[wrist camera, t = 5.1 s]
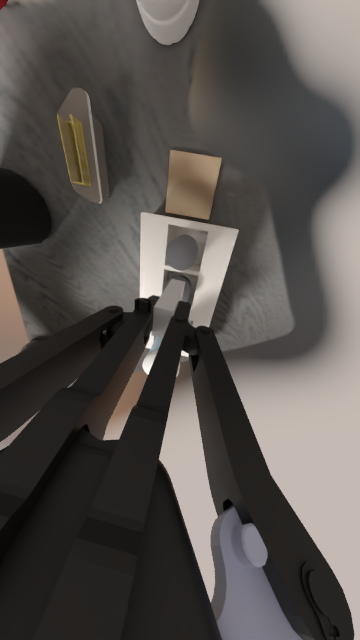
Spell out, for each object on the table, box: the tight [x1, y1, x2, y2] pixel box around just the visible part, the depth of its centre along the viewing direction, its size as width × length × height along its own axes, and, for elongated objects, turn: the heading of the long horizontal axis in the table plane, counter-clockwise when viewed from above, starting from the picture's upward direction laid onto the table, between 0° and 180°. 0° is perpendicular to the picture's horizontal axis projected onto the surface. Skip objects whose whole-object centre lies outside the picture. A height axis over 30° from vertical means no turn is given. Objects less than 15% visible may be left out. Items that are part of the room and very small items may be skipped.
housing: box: [140, 212, 239, 357], centre depth 30 cm, size 24×13×6 cm, turn 171°
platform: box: [57, 88, 110, 203], centre depth 21 cm, size 12×18×7 cm, turn 174°
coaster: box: [165, 150, 222, 220], centre depth 23 cm, size 7×7×1 cm
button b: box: [166, 235, 198, 271], centre depth 22 cm, size 4×4×6 cm
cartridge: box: [143, 337, 180, 377], centre depth 29 cm, size 5×5×14 cm
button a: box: [165, 275, 191, 302], centre depth 27 cm, size 4×4×6 cm
